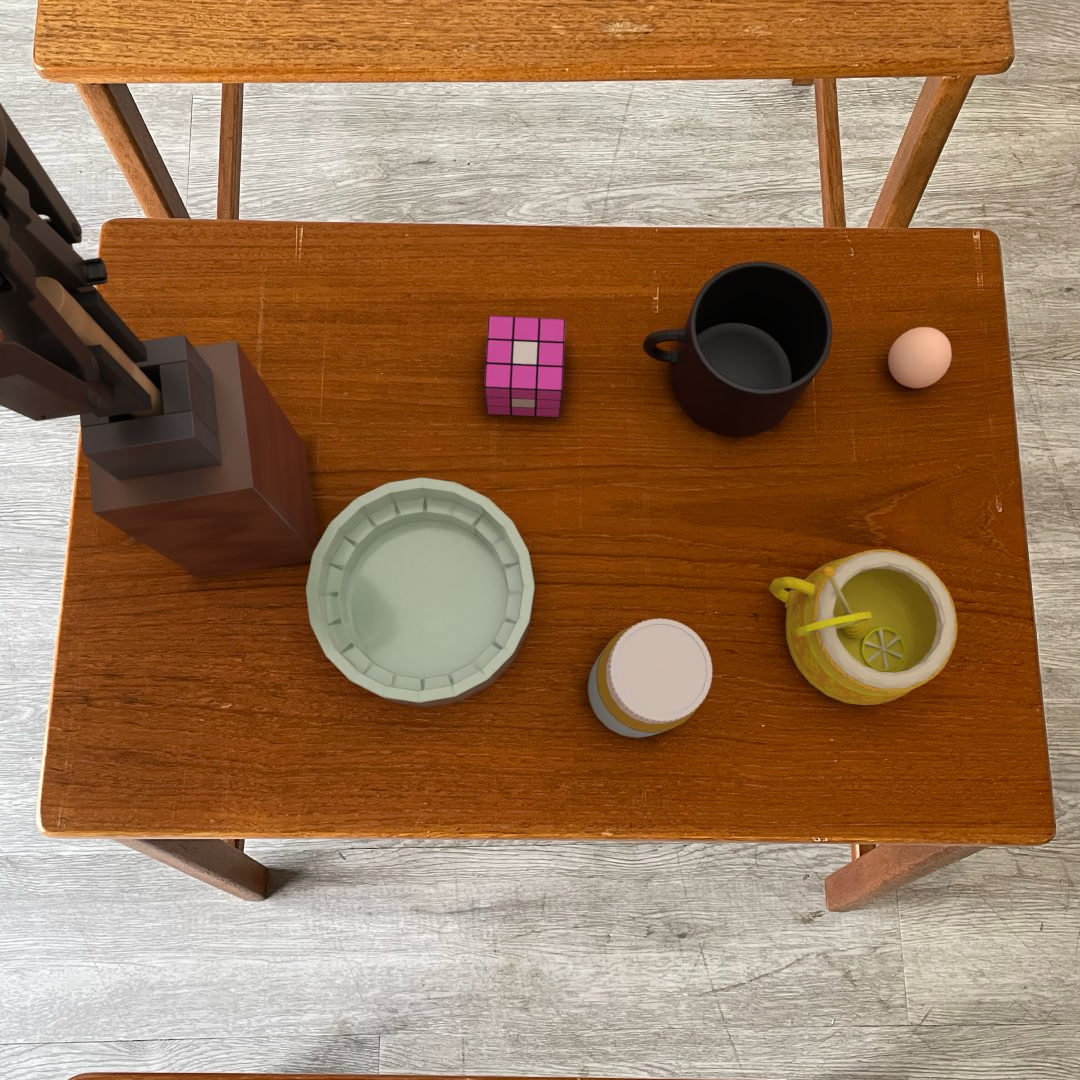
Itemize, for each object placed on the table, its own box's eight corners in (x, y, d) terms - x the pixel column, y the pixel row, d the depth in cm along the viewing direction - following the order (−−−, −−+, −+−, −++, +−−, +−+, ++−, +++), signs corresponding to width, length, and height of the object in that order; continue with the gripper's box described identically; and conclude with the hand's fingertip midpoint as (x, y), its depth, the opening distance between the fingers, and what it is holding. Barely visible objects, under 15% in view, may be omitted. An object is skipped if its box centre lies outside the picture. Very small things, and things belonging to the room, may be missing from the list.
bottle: (613, 625, 77) (634, 591, 63) (697, 669, 77) (739, 644, 62) (570, 709, 76) (582, 694, 61) (656, 755, 75) (688, 750, 61)
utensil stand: (200, 578, 77) (52, 488, 53) (188, 464, 79) (41, 327, 55) (320, 559, 78) (229, 461, 54) (305, 446, 80) (211, 302, 56)
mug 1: (640, 310, 83) (655, 250, 73) (799, 324, 83) (835, 266, 73) (631, 429, 81) (646, 384, 71) (795, 444, 81) (831, 400, 71)
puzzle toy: (562, 349, 82) (565, 318, 76) (559, 417, 81) (562, 391, 75) (490, 345, 82) (488, 314, 76) (486, 414, 81) (484, 387, 75)
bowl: (337, 723, 75) (321, 719, 69) (311, 517, 79) (294, 497, 73) (548, 687, 76) (551, 680, 70) (514, 485, 80) (513, 462, 74)
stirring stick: (150, 443, 59) (17, 323, 43) (147, 410, 59) (14, 279, 44) (185, 437, 59) (65, 316, 43) (182, 404, 59) (62, 272, 44)
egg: (942, 390, 82) (973, 362, 76) (889, 403, 82) (916, 376, 76) (924, 339, 83) (952, 308, 77) (871, 352, 82) (896, 321, 77)
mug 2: (945, 599, 78) (1020, 568, 66) (891, 732, 76) (959, 724, 64) (789, 526, 79) (836, 483, 67) (732, 655, 77) (769, 633, 65)
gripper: (-37, 300, 28) (211, 511, 51) (-62, -149, 32) (182, 239, 55) (-320, 341, 28) (58, 535, 51) (-315, -119, 31) (38, 259, 54)
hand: (122, 382), depth 53 cm, fingers closed on stirring stick, 2 cm apart
